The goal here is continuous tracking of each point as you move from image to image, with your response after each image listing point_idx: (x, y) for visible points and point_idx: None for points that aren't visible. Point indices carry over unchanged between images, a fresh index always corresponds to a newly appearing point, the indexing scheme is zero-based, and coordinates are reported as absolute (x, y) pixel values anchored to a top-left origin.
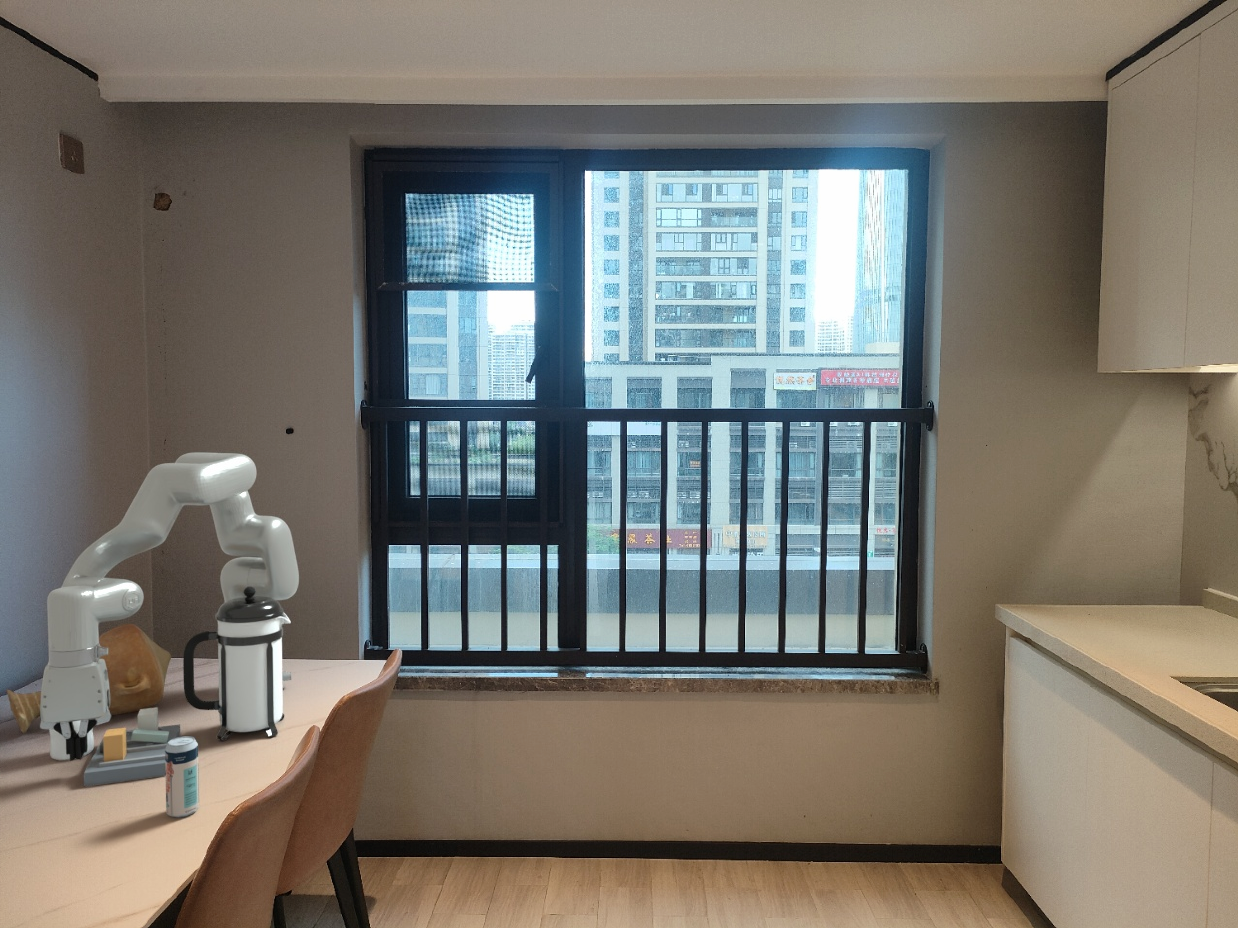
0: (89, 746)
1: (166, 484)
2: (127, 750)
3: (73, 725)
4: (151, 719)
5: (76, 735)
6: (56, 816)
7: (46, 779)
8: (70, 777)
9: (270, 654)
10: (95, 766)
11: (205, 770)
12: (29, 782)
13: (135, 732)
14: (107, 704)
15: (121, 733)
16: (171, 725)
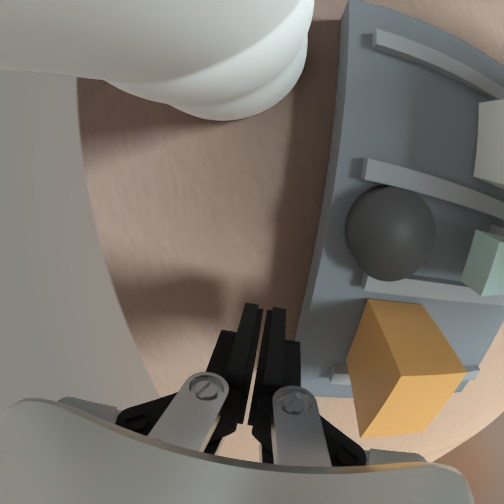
0: (294, 82)
1: None
2: (430, 295)
3: (217, 413)
4: None
5: (247, 396)
6: (244, 442)
7: (180, 268)
8: (247, 288)
9: None
10: (319, 364)
11: (495, 364)
12: (142, 268)
13: (489, 285)
14: (464, 481)
15: (424, 423)
16: None
